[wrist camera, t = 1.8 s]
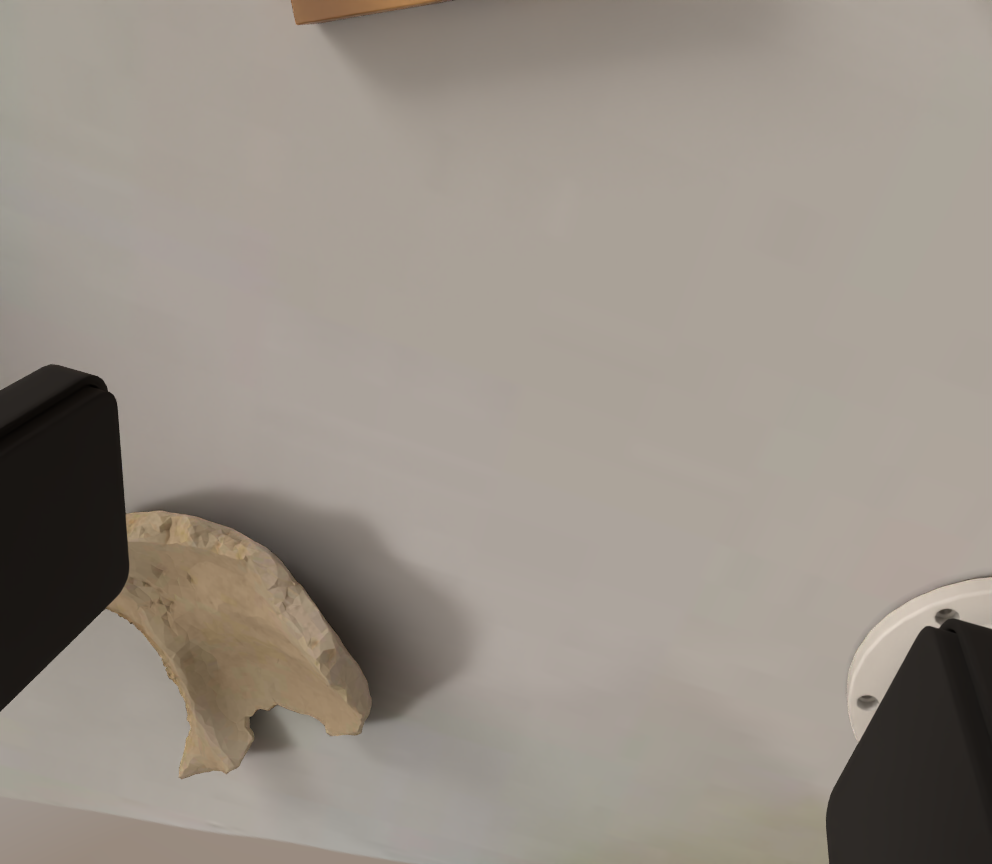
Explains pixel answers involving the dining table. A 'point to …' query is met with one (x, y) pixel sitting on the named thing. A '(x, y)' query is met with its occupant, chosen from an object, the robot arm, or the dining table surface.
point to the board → (348, 8)
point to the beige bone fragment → (233, 636)
